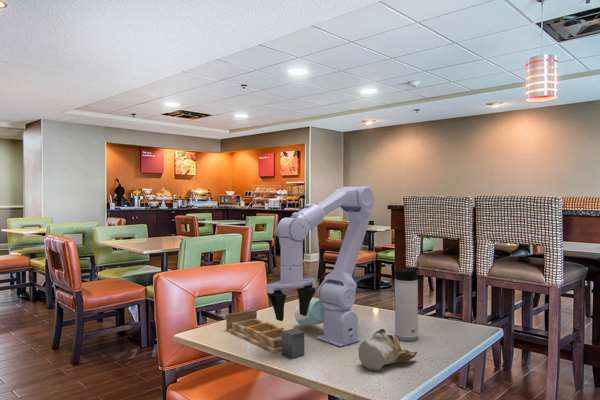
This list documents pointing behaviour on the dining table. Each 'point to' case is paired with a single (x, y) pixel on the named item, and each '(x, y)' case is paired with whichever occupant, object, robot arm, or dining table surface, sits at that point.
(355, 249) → the robot arm
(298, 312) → the can
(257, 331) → the tray
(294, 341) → the grey block
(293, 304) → the dining table surface
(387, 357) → the ceramic sculpture
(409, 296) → the travel mug
